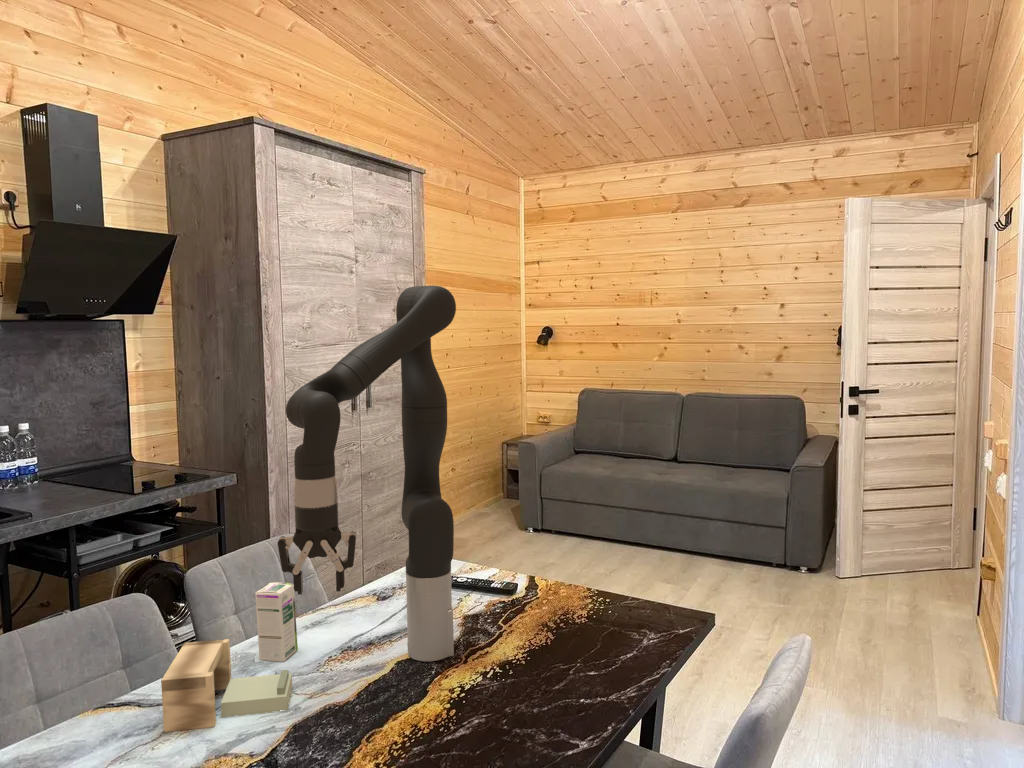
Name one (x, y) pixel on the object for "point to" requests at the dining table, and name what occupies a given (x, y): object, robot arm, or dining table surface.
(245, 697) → the panel
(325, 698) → the dining table surface
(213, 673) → the wooden c-channel bracket
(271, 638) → the syrup box
